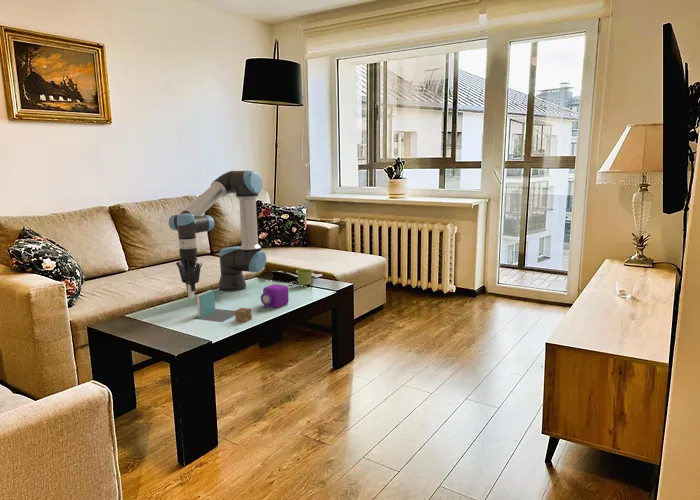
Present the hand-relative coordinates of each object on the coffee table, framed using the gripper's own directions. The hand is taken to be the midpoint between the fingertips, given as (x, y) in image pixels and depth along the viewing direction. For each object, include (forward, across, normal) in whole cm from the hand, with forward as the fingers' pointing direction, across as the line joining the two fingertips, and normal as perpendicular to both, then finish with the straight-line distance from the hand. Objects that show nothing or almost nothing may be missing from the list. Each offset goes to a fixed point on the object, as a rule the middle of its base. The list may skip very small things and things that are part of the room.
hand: (191, 297), depth 228 cm
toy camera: (+8, +31, +22) cm, 39 cm away
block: (+8, +29, -2) cm, 30 cm away
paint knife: (+8, +20, +75) cm, 78 cm away
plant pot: (+8, +28, +62) cm, 68 cm away
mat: (+7, +14, 0) cm, 16 cm away
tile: (+7, +8, 0) cm, 11 cm away
